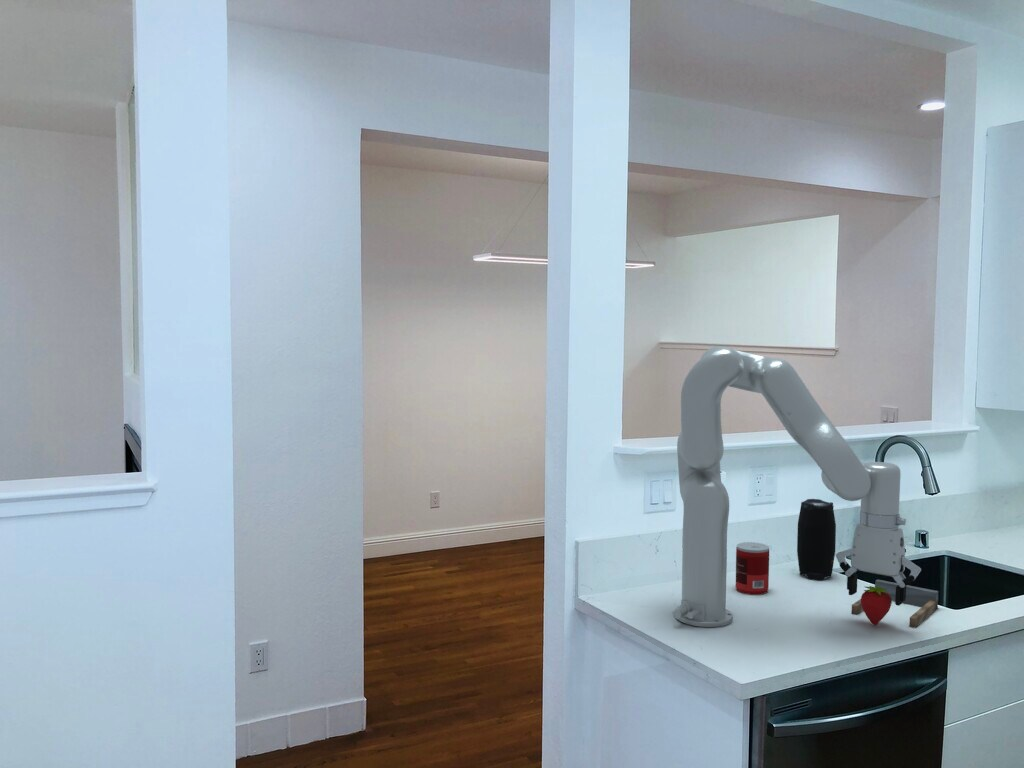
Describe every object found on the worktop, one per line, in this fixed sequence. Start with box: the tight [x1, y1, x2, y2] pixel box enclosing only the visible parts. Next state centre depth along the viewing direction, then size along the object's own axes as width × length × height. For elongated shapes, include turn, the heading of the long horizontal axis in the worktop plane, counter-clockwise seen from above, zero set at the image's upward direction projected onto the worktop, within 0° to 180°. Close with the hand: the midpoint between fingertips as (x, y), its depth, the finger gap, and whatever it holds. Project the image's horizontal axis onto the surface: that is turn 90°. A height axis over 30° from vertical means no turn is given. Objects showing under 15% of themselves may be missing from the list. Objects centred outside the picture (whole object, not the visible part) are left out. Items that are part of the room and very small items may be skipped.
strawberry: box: [860, 581, 893, 626], centre depth 178 cm, size 6×8×10 cm
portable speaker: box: [796, 498, 837, 581], centre depth 214 cm, size 9×9×20 cm
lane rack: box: [851, 579, 939, 629], centre depth 187 cm, size 17×13×4 cm
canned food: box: [735, 541, 770, 596], centre depth 202 cm, size 8×8×11 cm
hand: (875, 598), depth 178 cm, fingers open, 9 cm apart
